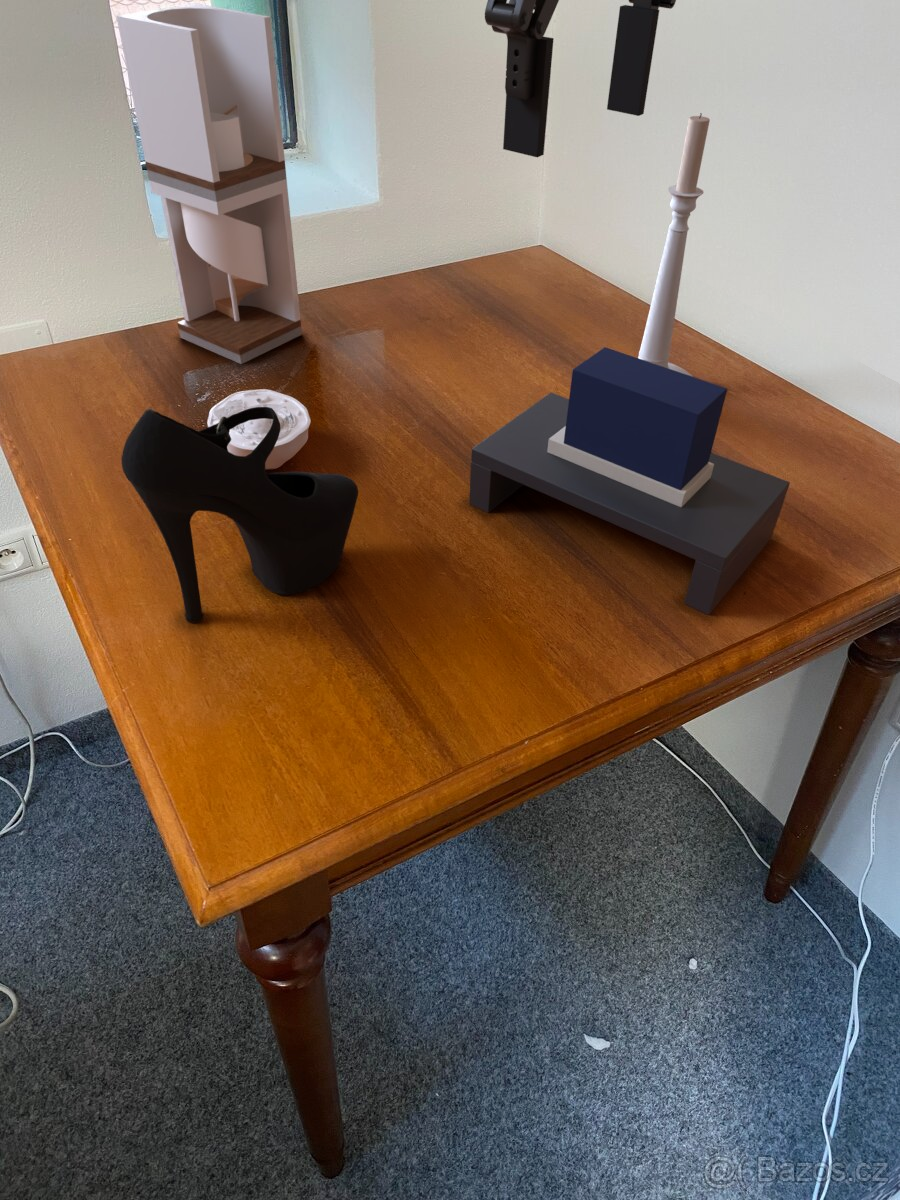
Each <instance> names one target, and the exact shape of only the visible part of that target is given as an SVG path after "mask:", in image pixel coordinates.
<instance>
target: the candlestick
mask: <svg viewBox="0 0 900 1200" xmlns="http://www.w3.org/2000/svg"><path fill="white" fill-rule="evenodd" d="M702 115H703V114H702V112H700V115H691V116H690V117H689V118H688V122H687V128H686V133H685V139H684V144H683V149H682V154H681V159H680V166H679V171H678V176H677V182H676V185H671V186H669V187H668V188H667V191H668V193H670V195H671V200H670V203H669V207H670V210H671V211H672V212H671V215H672V220H671V222H670V224H669V225H668V231H667V234H666V239H665V243H664V247H663V251H662V256H661V260H660V265H659V269H658V273H657V277H656V282H655V286H654V288H653V294H652V298H651V303H650V307H649V311H648V315H647V319H646V324H645V328H644V332H643V337H642V340H641V345H640V349H639V351H638V357H637V358H639V359H642V360H645V361H648V362H651V363H653V364H656V365H659V366H662V367H665V368H668V369H671V370H674V371H677V372H680V373H683V374H686V375H689V376H692V377H694V375H692V374H691V373H690V372H689V371H687V370H686V369H684V368H683V367H681V366H679V365H677V364H674V363H672V362H669V359H670V356H671V355H670V353H671V347H672V346H671V345H672V340H673V339H672V338H673V331H674V324H675V318H676V313H677V304H678V298H679V293H680V285H681V279H682V273H683V272H682V271H683V265H684V257H685V252H686V245H687V237H688V232H689V230H690V227H689V226H688V220H689V218H690V216H691V213H692V212H694V211H695V210H696V207H697V200H698V198H700V196H702V195H703V194H704V190H703V189H701V188H700V187H697V186H698V181H699V177H700V176H699V175H700V171H701V166H702V161H703V156H704V151H705V146H706V142H707V141H706V140H707V136H708V130H709V126H710V121H711V119H710V118H709V117H708V116H704V115H703V116H702Z"/></svg>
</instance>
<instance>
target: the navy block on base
mask: <svg viewBox="0 0 900 1200" xmlns="http://www.w3.org/2000/svg"><path fill="white" fill-rule="evenodd" d="M692 376H693V375H692ZM692 376H689V375H686V374H683V373H680V372H677V371H674V370H671V369H668V368H665V367H662V366H659V365H656V364H653V363H651V362H648V361H645V360H642V359H639V358H638V357H635V356H633V355H629V354H627V353H623V352H621V351H618V350H615V349H613V348H609V347H606V346H604V347H602V348H601V349H599V350H598V351H597V352H595V353H594V354H592V355H591V356H589V358H587V359H586V360H584V361H583V362H581V363H580V364H579V365H577V366H576V367H574V368H573V369H572V373H571V381H570V388H569V396H568V399H569V404H568V412H567V420H566V426H565V427H564V428H562V429H561V430H560V431H559V432H557V433H556V434H555V435H553V436H552V437H551V438H549V442H548V451H547V452H548V453H550V454H553V455H555V456H558V457H560V458H562V459H565V460H567V461H570V462H572V463H575V464H577V465H579V466H582V467H584V468H587V469H589V470H592V471H594V472H596V473H599V474H601V475H604V476H606V477H609V478H611V479H613V480H616V481H618V482H621V483H623V484H625V485H628V486H630V487H633V488H635V489H638V490H640V491H642V492H645V493H647V494H650V495H652V496H655V497H657V498H659V499H662V500H664V501H667V502H669V503H672V504H674V505H676V506H679V507H682V506H683V505H684V504H685V503H686V502H687V501H688V500H689V499H690V498H691V497H692V496H693V495H694V494H695V493H696V492H697V491H698V490H699V489H700V488H701V487H702V486H703V485H704V484H705V483H706V482H707V481H708V480H709V479H710V478H711V475H712V471H713V467H714V464H713V463H710V462H709V458H710V454H711V453H712V451H713V447H714V442H715V438H716V435H717V431H718V427H719V422H720V419H721V416H722V412H723V408H724V404H725V399H726V397H727V394H728V393H727V392H728V388H727V387H724V386H721V385H718V384H716V383H712V382H710V381H707V380H704V379H700V378H698V377H695V376H693V377H692Z"/></svg>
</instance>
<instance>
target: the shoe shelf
mask: <svg viewBox="0 0 900 1200" xmlns="http://www.w3.org/2000/svg"><path fill="white" fill-rule="evenodd" d="M568 404H569V398H567V397H564V396H561V395H558V393H557V394H556V393H554V392H549V393H548V394H546V395H544V396H543V397H542V398H541V399H539V400H538V401H536V402H535V403H533V404H532V405H531V406H529V407H528V408H527V409H525V410H524V411H522V412H521V413H520V414H518V415H517V416H515V417H514V418H513V419H511V420H509V422H507V423H505V424H504V425H503V426H501V427H500V428H498V429H497V430H495V431H494V432H493V433H492V434H490V435H488V436H487V437H486V438H484V439H483V440H482V441H480V442H479V443H477V444H476V445H474V446H473V447H472V448H471V454H470V473H469V474H470V476H469V496H468V497H469V500H468V504H469V505H470V506H472V507H475V508H477V509H479V510H481V511H483V512H485V513H488V514H489V513H490V512H492V511H493V510H494V509H495V508H496V507H498V506H499V505H500V504H501V503H503V502H504V501H505V500H506V499H508V498H509V497H510V496H511V495H512V494H514V493H515V492H516V491H518V490H519V489H520V488H522V487H523V486H526V487H528V488H530V489H533V490H535V491H537V492H539V493H542V494H544V495H547V496H548V497H551V498H553V499H555V500H557V501H560V502H563V503H565V504H567V505H570V506H572V507H574V508H576V509H578V510H580V511H582V512H584V513H587V514H589V515H592V516H594V517H597V518H599V519H601V520H602V521H603V520H604V521H605V522H608V523H610V524H612V525H615V526H617V527H620V528H621V529H624V530H626V531H629V532H631V533H634V534H636V535H637V536H639V537H642V538H644V539H647V540H649V541H651V542H653V543H656V544H658V545H661V546H663V547H665V548H667V549H670V550H672V551H674V552H676V553H679V554H681V555H684V556H685V557H688V558H690V559H693V560H695V562H694V566H693V569H692V573H691V577H690V579H689V580H690V581H689V584H688V588H687V591H686V595H685V599H684V602H683V604H684V605H686V606H688V607H690V608H692V609H694V610H696V611H699V612H700V613H703V614H705V615H707V616H710V615H711V613H712V612H713V611H714V610H715V608H717V606H718V605H719V603H720V602H721V601H722V600H723V599H724V597H725V596H726V595H727V594H728V592H729V591H730V590H731V588H733V586H734V585H735V584H736V582H737V581H738V580H739V579H740V577H741V576H742V575H743V574H744V572H745V571H746V570H747V569H748V568H749V567H750V565H751V564H752V563H753V562H754V560H755V559H756V557H757V556H758V555H759V554H760V553H761V551H763V549H764V548H765V546H766V545H768V543H769V542H770V540H771V539H772V537H773V534H774V532H775V528H776V526H777V522H778V519H779V517H780V513H781V511H782V508H783V505H784V502H785V499H786V495H787V493H788V490H789V487H790V485H791V482H790V481H788V480H786V479H782V478H780V477H777V476H775V475H772V474H769V473H767V472H764V471H761V470H759V469H756V468H753V467H751V466H748V465H746V464H742V463H740V462H737V461H735V460H732V459H729V458H727V457H725V456H722V455H719V454H716V453H715V452H711V454H710V458H709V462H710V463H713V464H714V467H713V471H712V475H711V478H710V479H709V480H708V481H707V482H706V483H705V484H704V485H703V486H702V487H701V488H700V489H699V490H698V491H697V492H696V493H695V494H694V495H693V496H692V497H691V498H690V499H689V500H688V501H687V502H686V503H685V504H684V505H683V506H682V507H679V506H676V505H674V504H672V503H669V502H667V501H664V500H662V499H659V498H657V497H655V496H652V495H650V494H647V493H645V492H642V491H640V490H638V489H635V488H633V487H630V486H628V485H625V484H623V483H621V482H618V481H616V480H613V479H611V478H609V477H606V476H604V475H601V474H599V473H596V472H594V471H592V470H589V469H587V468H584V467H582V466H579V465H577V464H575V463H572V462H570V461H567V460H565V459H562V458H560V457H558V456H555V455H553V454H550V453H548V452H547V451H548V442H549V438H551V437H552V436H553V435H555V434H556V433H557V432H559V431H560V430H561V429H562V428H564V427H565V426H566V420H567V412H568Z"/></svg>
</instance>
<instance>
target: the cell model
mask: <svg viewBox="0 0 900 1200" xmlns="http://www.w3.org/2000/svg"><path fill="white" fill-rule="evenodd" d="M255 407H269V408H272V409H273V410H274V411H275V413H276V415H277V417H278V419H279V422H280V433H279V437H278V440H277V442H276V444H275V446H274V448H273V450H272V452H271V453H270V455H269V456H268V458H267V460H266V462H265V470H276V469H278V468H280V467H281V466H283V465H284V464H285V463H286V462H288V461H289V460H291V459H292V458H293V457H295V456H296V454H297V453H298V452H299V451H300V450H301V449H302V448H303V447H304V445H305V444H306V443H307V441H308V439H309V427H310V425H311V417H310V414H309V411H308V409H307V407H306V406H304V404H302V402H300V401H299V400H298V399H296V398H294V397H292V396H290V395H287V394H285V393H281V392H278V391H274V390H272V389H267V388H263V389H249V390H242V391H238V392H234V393H232V394H230V395H228V396H227V397H225V398H223V399H222V400H221V401H219V402H218V403H216V404H215V405H214V406H212V407H211V409H210V410H209V413H208V417H207V420H206V421H207V424H206V425H207V428H208V427H210V426H213V425H215V424H217V423H219V421H220V419H221V418H222V417H223V416H224V417H226V418H228V417H230V416H231V415H234V414H237V413H239V412H241V411H244V410H246V409H250V408H255ZM272 423H273V419H266V418H263V419H255V420H249V421H247V422H244V423H242V424H239V425H237V426H235V427H234V428H232V429H230V432H229V435H230V437H231V441H230V443H229V444H228V446H227V449H228V452H230V453H232V454H234V455H236V456H247V455H249V454H251V453H252V451H253V450H254V449H255V448H256V447H257V446H258V445H259V443H260V442H261V441H262V440H263V439H264V437H265V436H266V435H267V433H268V432H269V430H270V428H271V426H272Z"/></svg>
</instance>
